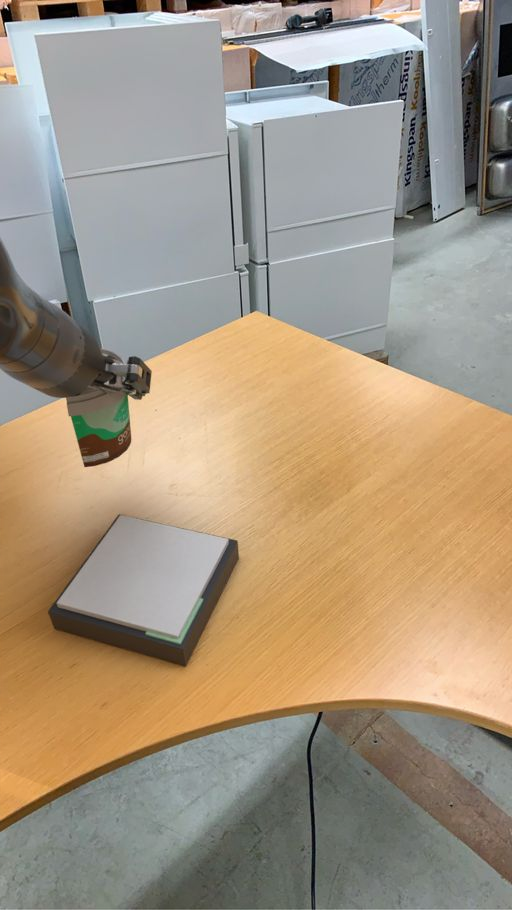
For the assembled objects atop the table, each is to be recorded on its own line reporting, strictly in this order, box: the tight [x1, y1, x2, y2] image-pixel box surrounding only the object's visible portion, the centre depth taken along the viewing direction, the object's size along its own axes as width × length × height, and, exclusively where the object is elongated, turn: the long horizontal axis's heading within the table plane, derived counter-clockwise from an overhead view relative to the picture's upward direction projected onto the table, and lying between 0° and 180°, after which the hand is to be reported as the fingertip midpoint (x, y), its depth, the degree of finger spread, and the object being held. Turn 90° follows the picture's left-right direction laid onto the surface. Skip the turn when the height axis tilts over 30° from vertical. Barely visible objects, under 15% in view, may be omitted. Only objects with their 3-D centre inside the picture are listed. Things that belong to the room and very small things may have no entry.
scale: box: [47, 514, 240, 667], centre depth 75 cm, size 16×16×4 cm
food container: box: [65, 347, 132, 468], centre depth 76 cm, size 12×6×10 cm, turn 4°
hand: (109, 389), depth 76 cm, fingers closed on food container, 6 cm apart
